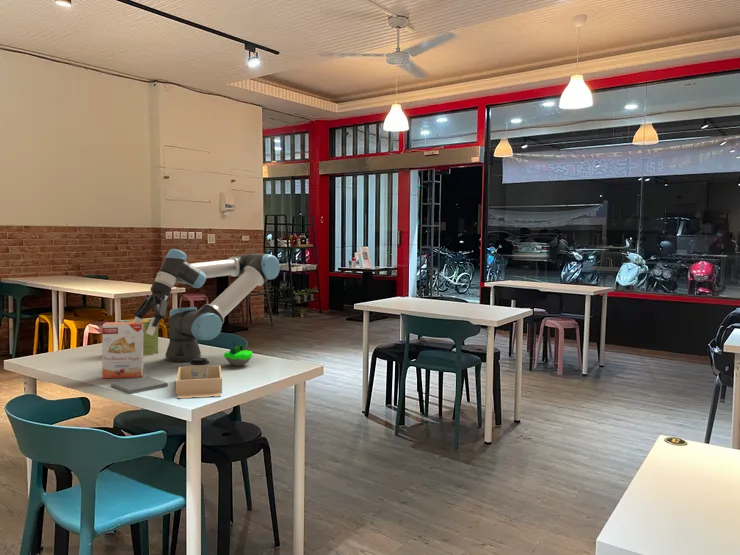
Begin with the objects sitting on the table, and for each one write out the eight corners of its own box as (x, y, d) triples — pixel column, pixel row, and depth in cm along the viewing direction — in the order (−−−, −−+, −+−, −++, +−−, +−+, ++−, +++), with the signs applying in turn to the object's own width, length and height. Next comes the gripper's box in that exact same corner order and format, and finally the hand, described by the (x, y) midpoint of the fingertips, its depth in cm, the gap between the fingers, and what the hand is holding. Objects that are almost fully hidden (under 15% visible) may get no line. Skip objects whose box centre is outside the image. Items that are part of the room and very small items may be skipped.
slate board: (147, 379, 209) (147, 376, 209) (167, 386, 200) (167, 382, 200) (111, 386, 199) (111, 382, 198) (130, 393, 190) (130, 390, 190)
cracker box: (101, 379, 208) (101, 324, 207) (105, 375, 214) (104, 321, 213) (141, 377, 212) (141, 323, 211) (143, 373, 218) (143, 321, 217)
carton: (175, 399, 184) (175, 384, 184) (179, 376, 214) (179, 364, 214) (222, 396, 189) (222, 382, 188) (220, 375, 219) (220, 362, 218)
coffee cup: (207, 383, 206) (207, 356, 206) (211, 387, 200) (211, 360, 200) (188, 384, 203) (188, 357, 203) (191, 389, 197) (191, 361, 196)
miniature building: (244, 369, 230) (245, 343, 229) (219, 367, 232) (219, 341, 232) (256, 363, 242) (257, 338, 241) (232, 361, 244) (232, 336, 243)
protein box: (158, 353, 258) (158, 320, 257) (124, 357, 248) (124, 322, 247) (151, 349, 266) (151, 317, 265) (117, 353, 256) (117, 320, 255)
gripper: (139, 281, 228) (116, 328, 221) (171, 280, 212) (148, 330, 204) (155, 289, 233) (133, 336, 226) (187, 288, 217) (165, 338, 209)
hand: (140, 333), depth 215 cm, fingers open, 13 cm apart
